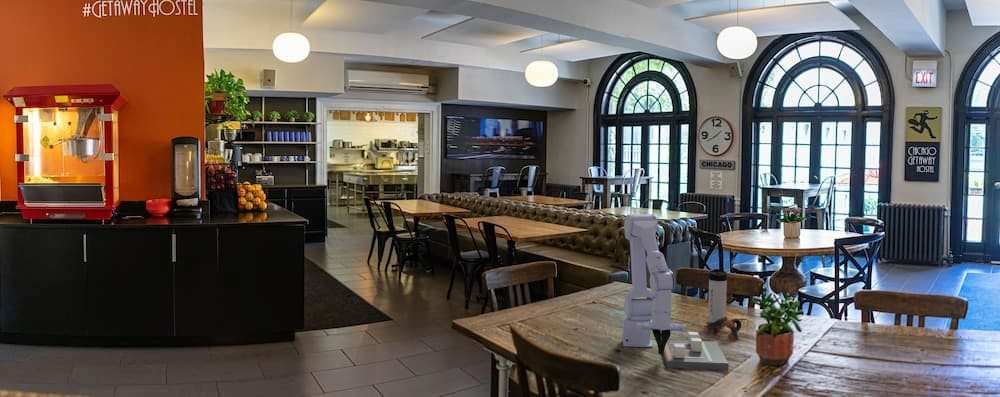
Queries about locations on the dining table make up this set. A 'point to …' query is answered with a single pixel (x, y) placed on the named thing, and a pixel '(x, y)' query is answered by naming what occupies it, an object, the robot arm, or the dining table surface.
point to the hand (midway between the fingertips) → (660, 353)
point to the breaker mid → (696, 344)
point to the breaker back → (692, 336)
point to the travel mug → (717, 295)
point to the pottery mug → (728, 324)
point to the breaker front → (679, 351)
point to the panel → (696, 356)
